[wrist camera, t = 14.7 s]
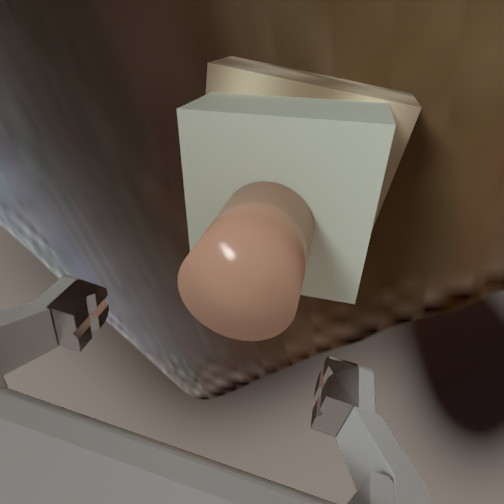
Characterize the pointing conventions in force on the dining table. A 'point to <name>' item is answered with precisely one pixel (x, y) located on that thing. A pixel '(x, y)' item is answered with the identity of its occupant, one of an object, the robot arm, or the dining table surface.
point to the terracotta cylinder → (250, 263)
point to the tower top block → (292, 170)
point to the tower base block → (316, 86)
